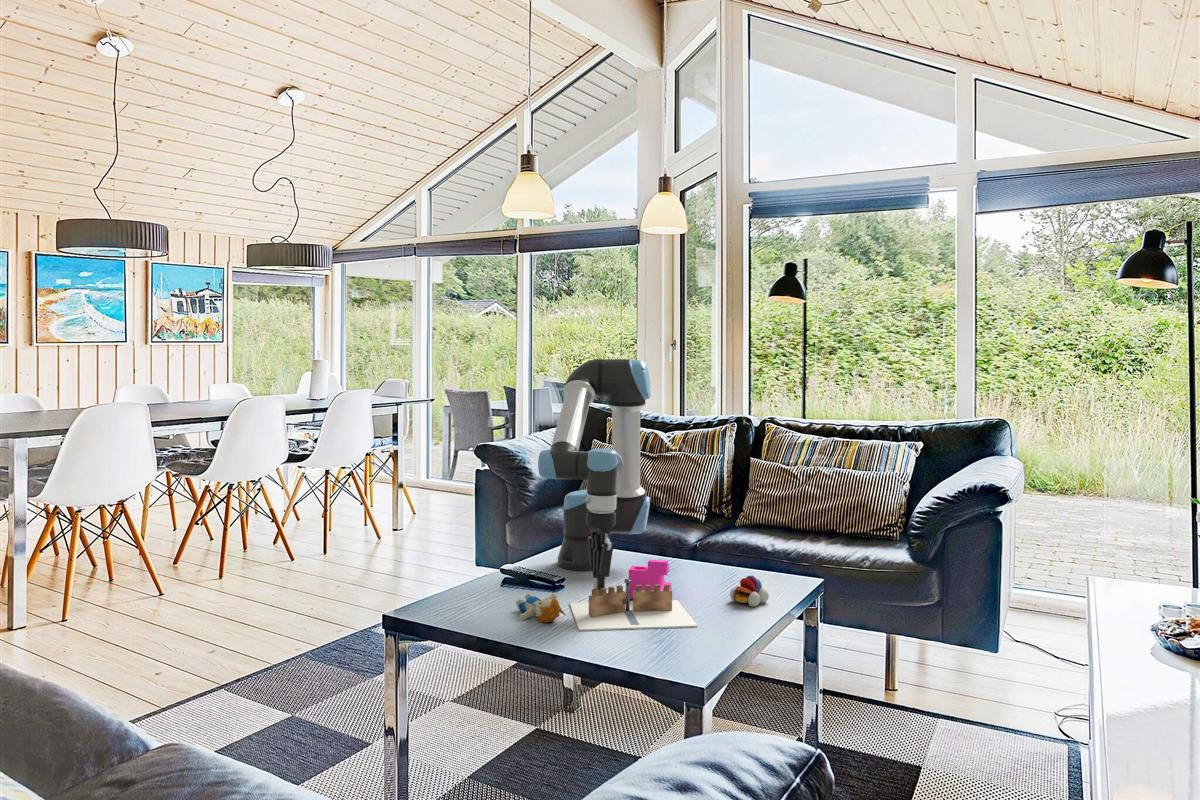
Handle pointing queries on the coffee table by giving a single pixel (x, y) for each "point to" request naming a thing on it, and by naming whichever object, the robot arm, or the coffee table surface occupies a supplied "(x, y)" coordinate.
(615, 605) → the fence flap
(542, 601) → the toy
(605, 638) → the coffee table surface
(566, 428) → the robot arm
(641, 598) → the fence fixed
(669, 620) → the card
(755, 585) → the rainbow petal cluster
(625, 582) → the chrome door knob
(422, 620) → the coffee table surface
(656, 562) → the bracket
